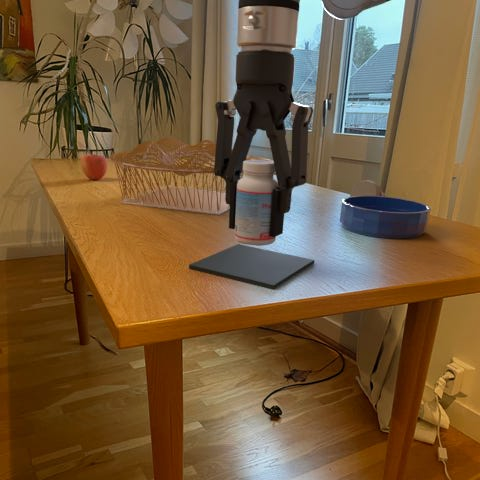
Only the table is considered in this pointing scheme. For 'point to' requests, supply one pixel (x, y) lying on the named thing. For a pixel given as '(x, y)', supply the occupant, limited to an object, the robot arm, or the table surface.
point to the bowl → (384, 216)
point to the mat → (253, 265)
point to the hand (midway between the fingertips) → (255, 230)
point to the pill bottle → (255, 203)
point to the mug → (366, 189)
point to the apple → (94, 166)
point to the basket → (173, 195)
